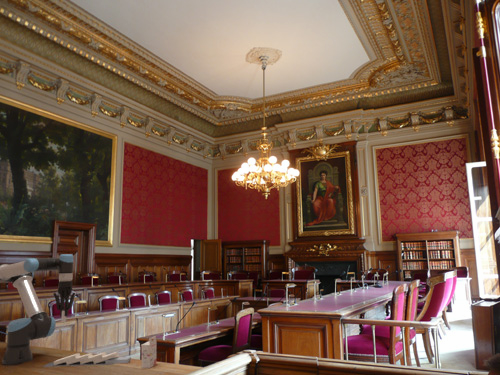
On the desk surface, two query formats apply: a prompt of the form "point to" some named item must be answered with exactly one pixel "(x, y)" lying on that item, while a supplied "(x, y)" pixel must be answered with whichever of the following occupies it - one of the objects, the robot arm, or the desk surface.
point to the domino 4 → (106, 357)
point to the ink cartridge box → (149, 353)
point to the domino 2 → (80, 358)
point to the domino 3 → (93, 358)
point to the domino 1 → (66, 359)
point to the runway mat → (76, 364)
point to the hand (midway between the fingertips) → (63, 322)
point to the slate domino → (118, 360)
